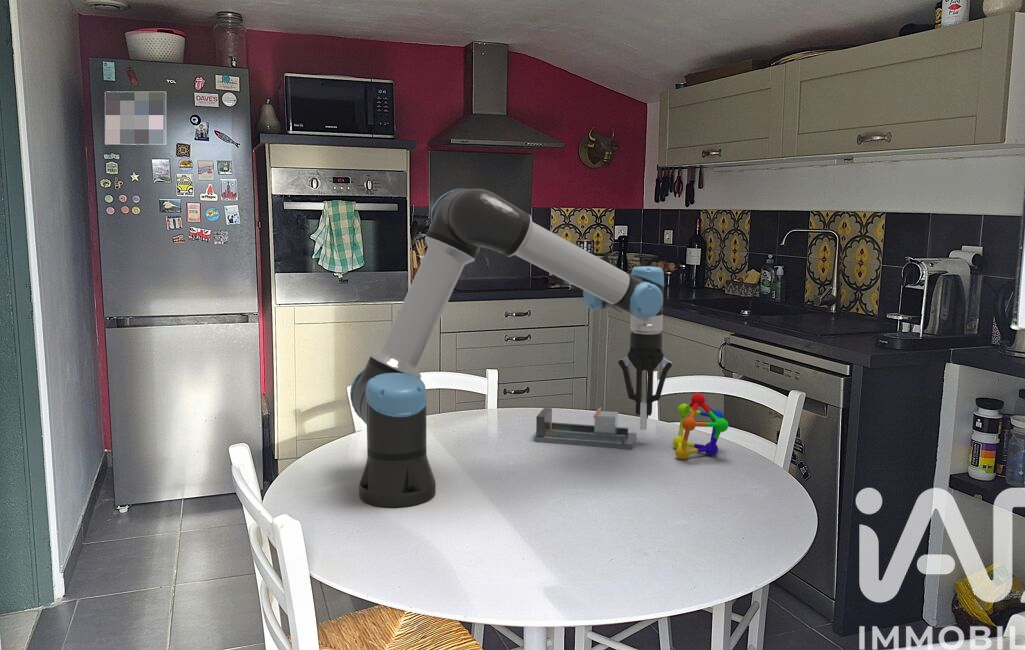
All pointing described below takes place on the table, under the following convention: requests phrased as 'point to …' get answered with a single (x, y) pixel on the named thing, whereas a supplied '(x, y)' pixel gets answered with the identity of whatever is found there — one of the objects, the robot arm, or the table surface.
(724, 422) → the educational toy
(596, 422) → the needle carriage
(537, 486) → the table surface
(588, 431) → the base
